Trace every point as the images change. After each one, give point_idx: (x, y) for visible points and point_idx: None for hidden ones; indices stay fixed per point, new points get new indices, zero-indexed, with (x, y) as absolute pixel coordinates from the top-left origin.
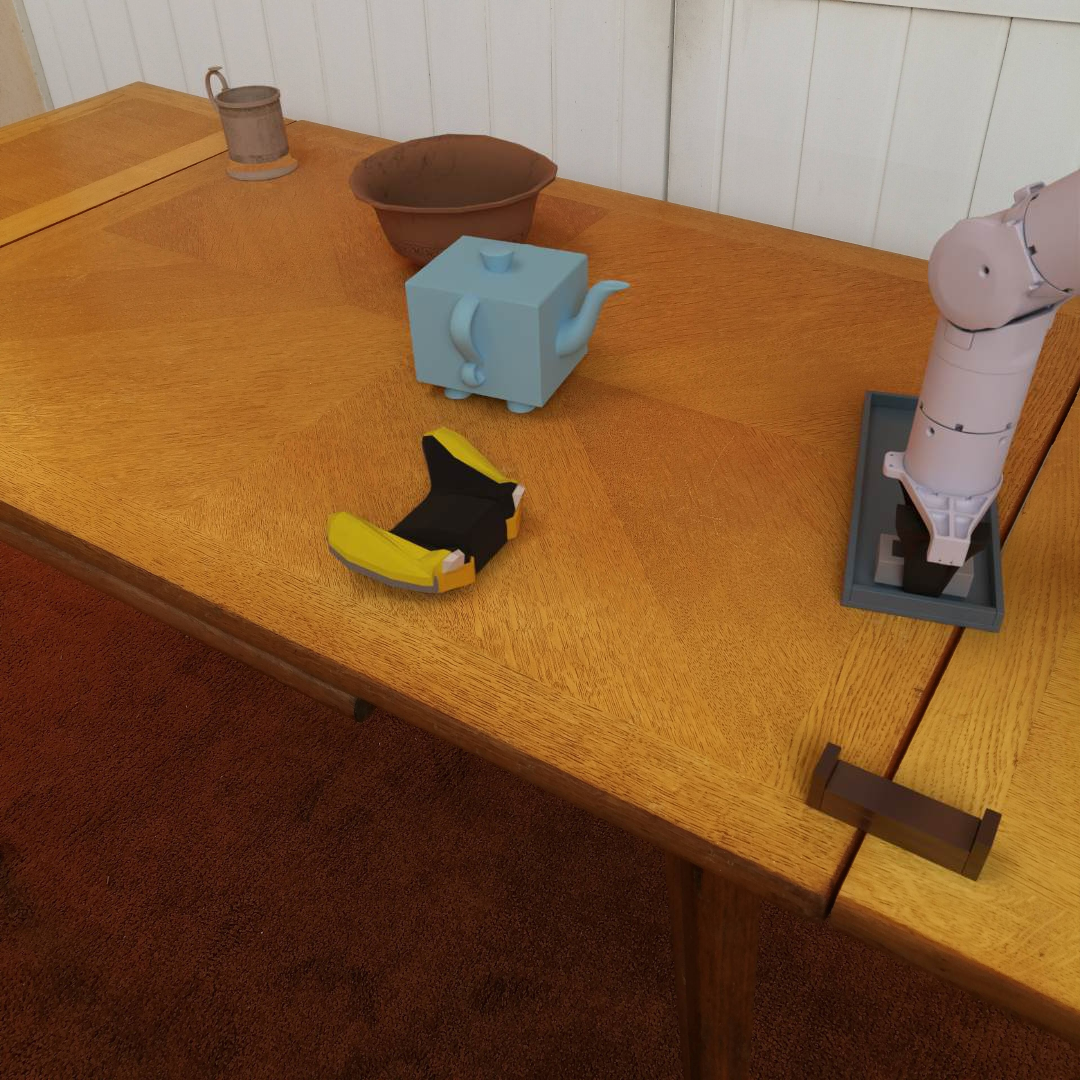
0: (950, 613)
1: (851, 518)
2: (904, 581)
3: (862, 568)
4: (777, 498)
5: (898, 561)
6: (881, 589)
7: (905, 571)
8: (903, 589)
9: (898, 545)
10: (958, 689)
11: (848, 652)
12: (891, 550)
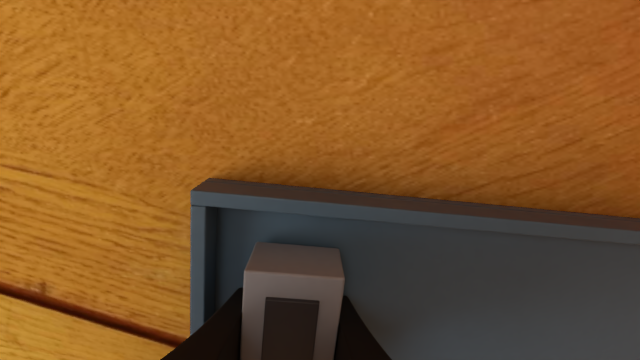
0: None
1: (438, 210)
2: (222, 305)
3: (305, 221)
4: (537, 52)
5: (247, 308)
6: (200, 260)
7: (204, 323)
8: (236, 291)
9: (299, 313)
10: (67, 339)
11: (90, 188)
12: (283, 297)
